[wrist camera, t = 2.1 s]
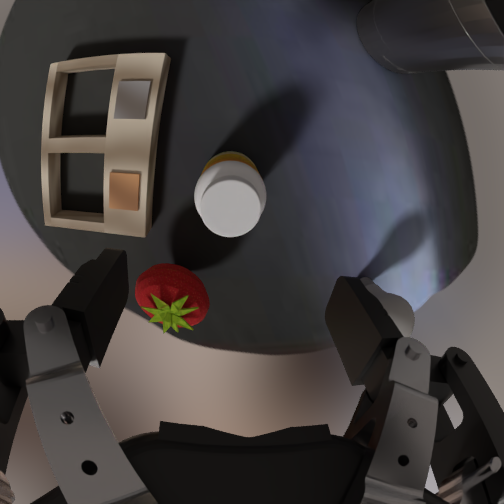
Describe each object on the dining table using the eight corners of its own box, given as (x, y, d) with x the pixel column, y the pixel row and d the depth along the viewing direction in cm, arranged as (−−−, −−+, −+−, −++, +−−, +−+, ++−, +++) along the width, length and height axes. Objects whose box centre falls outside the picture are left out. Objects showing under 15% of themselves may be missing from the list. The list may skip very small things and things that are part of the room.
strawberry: (159, 232, 28) (131, 285, 19) (221, 262, 30) (219, 324, 21) (141, 273, 30) (115, 333, 21) (198, 300, 32) (191, 364, 24)
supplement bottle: (196, 157, 25) (178, 179, 16) (252, 145, 25) (264, 160, 16) (209, 209, 27) (201, 254, 19) (262, 197, 27) (278, 238, 19)
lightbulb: (364, 252, 31) (410, 308, 21) (388, 276, 33) (431, 331, 24) (329, 287, 33) (362, 351, 23) (356, 307, 35) (389, 367, 25)
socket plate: (63, 66, 18) (49, 63, 16) (171, 58, 20) (164, 52, 18) (56, 217, 26) (43, 226, 23) (151, 227, 28) (144, 238, 25)
